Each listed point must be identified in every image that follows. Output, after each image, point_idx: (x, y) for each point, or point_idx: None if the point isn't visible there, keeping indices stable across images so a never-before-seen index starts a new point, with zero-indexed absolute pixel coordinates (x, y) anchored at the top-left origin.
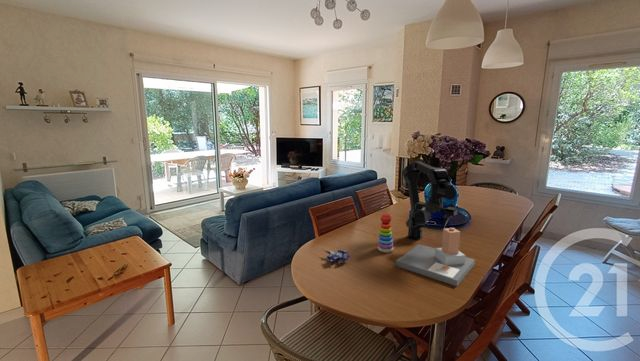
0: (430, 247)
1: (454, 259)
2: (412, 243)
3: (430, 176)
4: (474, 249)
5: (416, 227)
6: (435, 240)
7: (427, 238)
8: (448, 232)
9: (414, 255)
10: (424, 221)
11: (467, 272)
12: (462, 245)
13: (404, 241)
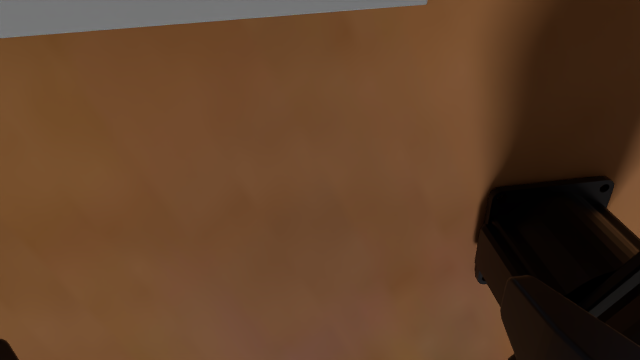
0: (252, 10)
1: None
2: (515, 85)
3: None
4: (20, 346)
5: (590, 298)
6: (352, 291)
7: (426, 282)
8: None
9: None
10: (563, 311)
11: None
12: (135, 347)
13: (609, 71)
